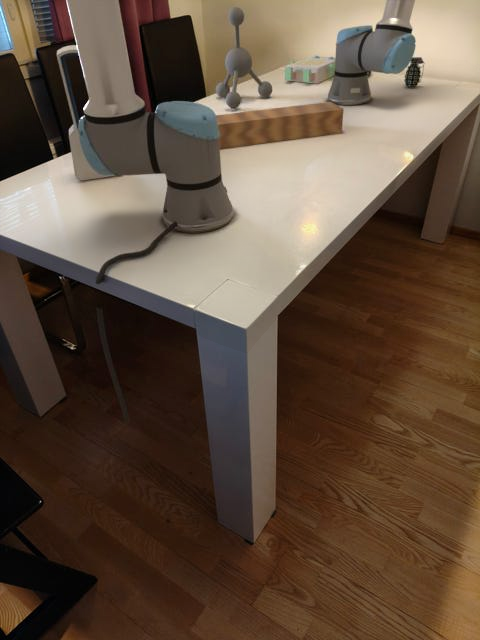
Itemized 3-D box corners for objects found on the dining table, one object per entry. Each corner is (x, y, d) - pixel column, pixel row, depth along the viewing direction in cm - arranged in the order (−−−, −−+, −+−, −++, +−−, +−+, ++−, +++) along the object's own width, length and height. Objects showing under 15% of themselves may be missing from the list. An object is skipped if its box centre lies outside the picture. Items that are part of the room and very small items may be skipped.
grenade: (402, 88, 186) (407, 59, 180) (402, 85, 191) (406, 56, 185) (420, 88, 185) (425, 59, 179) (420, 85, 189) (424, 56, 183)
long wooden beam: (145, 158, 139) (141, 134, 135) (142, 148, 146) (138, 124, 142) (341, 132, 149) (343, 109, 145) (329, 124, 156) (331, 101, 152)
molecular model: (285, 103, 178) (286, 6, 160) (229, 112, 172) (223, 12, 154) (260, 90, 196) (258, 1, 177) (208, 97, 190) (200, 6, 171)
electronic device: (76, 181, 127) (42, 52, 109) (76, 171, 133) (43, 47, 115) (124, 174, 130) (98, 47, 111) (122, 165, 135) (97, 42, 117)
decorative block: (306, 53, 217) (348, 56, 208) (306, 69, 221) (346, 73, 212) (276, 65, 201) (319, 68, 192) (276, 82, 205) (318, 86, 196)
